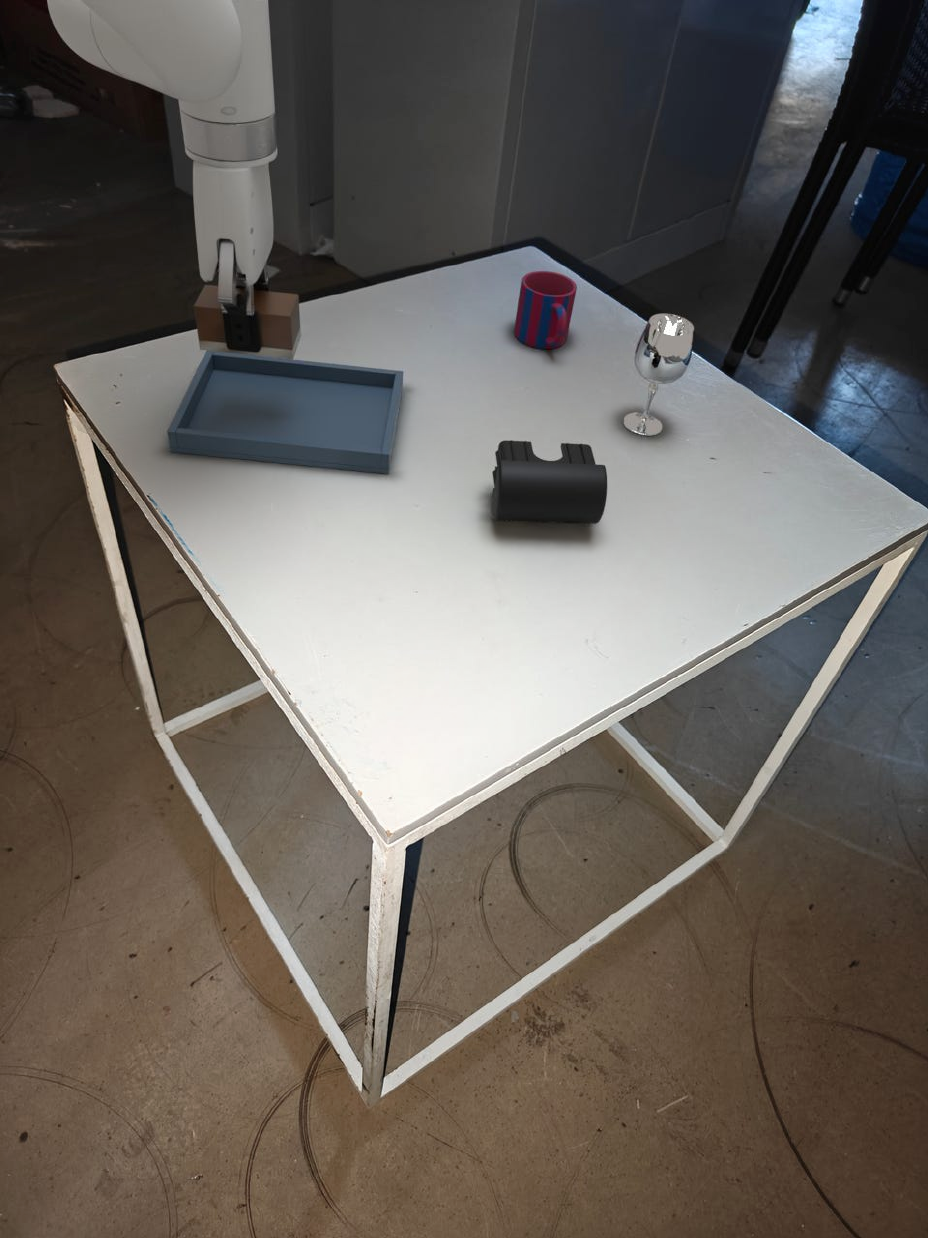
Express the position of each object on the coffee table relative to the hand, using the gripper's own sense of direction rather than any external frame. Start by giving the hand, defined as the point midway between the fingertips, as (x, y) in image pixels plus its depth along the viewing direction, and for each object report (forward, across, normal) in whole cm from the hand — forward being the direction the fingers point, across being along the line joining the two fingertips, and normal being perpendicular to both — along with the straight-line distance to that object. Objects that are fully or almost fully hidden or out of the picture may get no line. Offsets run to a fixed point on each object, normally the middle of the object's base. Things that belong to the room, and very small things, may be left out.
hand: (249, 334), depth 84 cm
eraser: (+1, 0, 0) cm, 1 cm away
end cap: (+9, +12, +30) cm, 34 cm away
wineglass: (+10, -6, +42) cm, 43 cm away
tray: (+9, 0, +4) cm, 10 cm away
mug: (+10, -22, +31) cm, 39 cm away
